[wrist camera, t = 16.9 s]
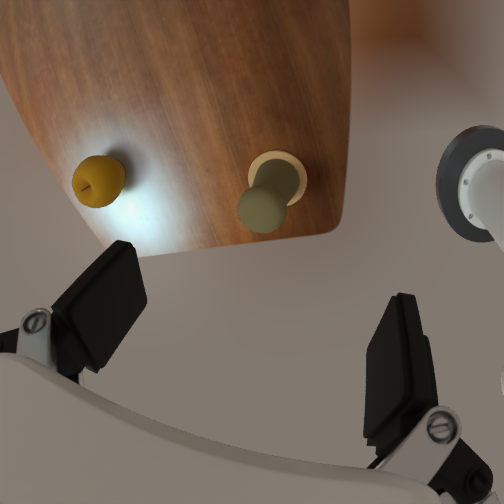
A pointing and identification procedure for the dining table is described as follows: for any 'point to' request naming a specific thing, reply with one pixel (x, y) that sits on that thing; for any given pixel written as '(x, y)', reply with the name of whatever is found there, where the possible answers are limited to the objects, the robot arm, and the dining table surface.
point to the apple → (98, 181)
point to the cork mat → (287, 157)
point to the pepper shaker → (268, 196)
